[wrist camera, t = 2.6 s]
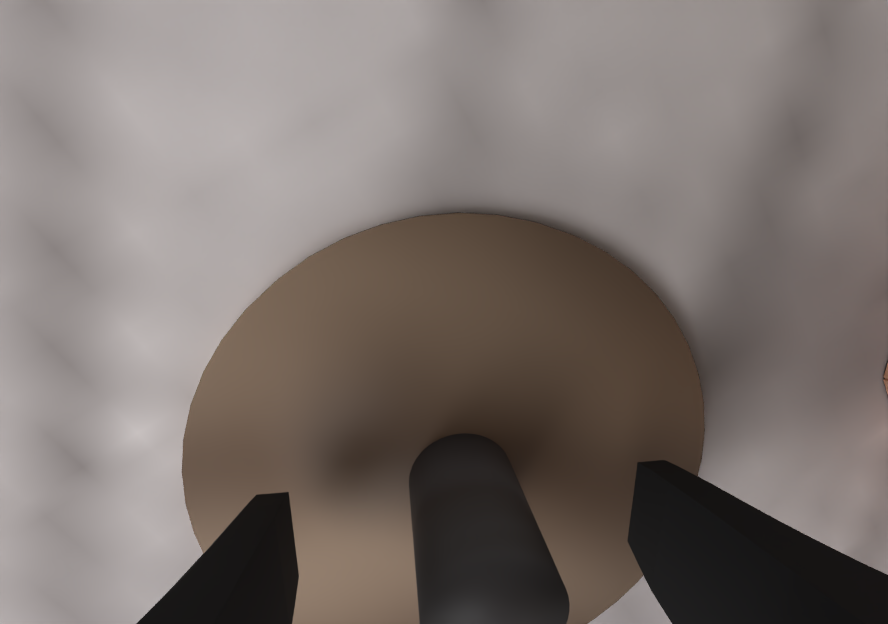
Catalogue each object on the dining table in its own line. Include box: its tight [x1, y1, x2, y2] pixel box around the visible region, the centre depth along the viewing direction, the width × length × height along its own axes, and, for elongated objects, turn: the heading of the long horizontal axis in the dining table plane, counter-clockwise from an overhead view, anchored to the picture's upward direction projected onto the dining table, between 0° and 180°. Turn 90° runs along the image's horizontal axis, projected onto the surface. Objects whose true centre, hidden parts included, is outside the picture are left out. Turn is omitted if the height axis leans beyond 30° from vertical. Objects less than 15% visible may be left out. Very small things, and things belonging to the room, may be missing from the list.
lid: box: [182, 213, 705, 624], centre depth 9 cm, size 12×12×4 cm
